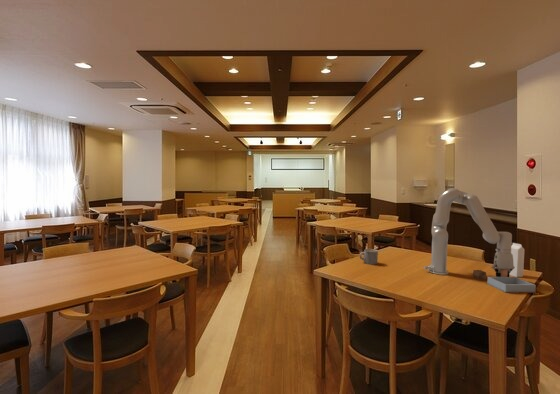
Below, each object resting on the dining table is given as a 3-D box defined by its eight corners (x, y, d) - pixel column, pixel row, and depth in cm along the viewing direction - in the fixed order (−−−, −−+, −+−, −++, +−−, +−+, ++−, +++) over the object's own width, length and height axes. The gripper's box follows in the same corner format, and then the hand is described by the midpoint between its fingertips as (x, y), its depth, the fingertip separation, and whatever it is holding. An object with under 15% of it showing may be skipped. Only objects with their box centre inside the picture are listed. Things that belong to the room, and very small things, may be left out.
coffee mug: (377, 261, 236) (377, 249, 235) (377, 265, 227) (377, 252, 226) (359, 260, 240) (360, 248, 240) (359, 263, 231) (359, 250, 230)
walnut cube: (478, 279, 195) (478, 272, 195) (473, 277, 200) (473, 270, 200) (485, 279, 195) (486, 272, 195) (480, 277, 200) (480, 270, 200)
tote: (505, 292, 172) (505, 284, 172) (487, 283, 187) (487, 276, 187) (535, 292, 173) (535, 285, 172) (515, 284, 187) (515, 277, 187)
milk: (516, 277, 201) (518, 244, 200) (507, 274, 207) (509, 242, 206) (523, 276, 203) (525, 244, 202) (514, 273, 209) (515, 242, 208)
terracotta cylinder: (501, 280, 193) (502, 270, 193) (495, 278, 198) (496, 267, 198) (509, 280, 193) (509, 270, 193) (503, 278, 198) (503, 267, 198)
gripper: (495, 252, 191) (493, 280, 192) (521, 252, 191) (519, 280, 192) (486, 249, 198) (485, 276, 199) (512, 249, 199) (510, 276, 200)
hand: (502, 278), depth 196 cm, fingers closed on terracotta cylinder, 5 cm apart
